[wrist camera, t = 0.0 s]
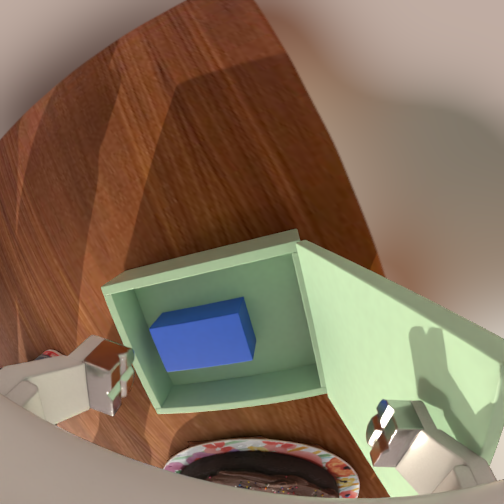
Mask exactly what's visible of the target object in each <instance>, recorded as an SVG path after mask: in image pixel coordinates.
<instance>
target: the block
mask: <svg viewBox="0 0 504 504" xmlns="http://www.w3.org/2000/svg"><path fill="white" fill-rule="evenodd" d="M149 331H150V333H151V336H152V338H153V341H154V343H155V346H156V348H157V350H158V353H159V355H160V357H161V360H162V362H163V364H164V367H165V369H166V371H167V372H172V371H181V370H190V369H198V368H205V367H213V366H220V365H227V364H233V363H239V362H246V361H252V360H253V357H254V351H255V345H256V337H255V334H254V330H253V327H252V324H251V320H250V317H249V313H248V310H247V307H246V303H245V300H244V297H239V298H234V299H229V300H225V301H220V302H215V303H210V304H205V305H200V306H195V307H190V308H184V309H179V310H174V311H169V312H163V313H162V314H161V315H160V316H159V317H158V318H157V320H156V321H155V322H154V323H153V324H152V326H151V327H150V328H149Z"/></svg>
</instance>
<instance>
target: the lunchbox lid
mask: <svg viewBox="0 0 504 504" xmlns="http://www.w3.org/2000/svg"><path fill="white" fill-rule="evenodd" d="M296 248H297V252H298V256H299V260H300V265H301V269H302V273H303V278H304V282H305V287H306V291H307V296H308V300H309V305H310V309H311V314H312V319H313V323H314V328H315V333H316V338H317V342H318V347H319V352H320V357H321V362H322V367H323V372H324V378H325V383H326V388H327V393H328V398H329V399H330V401H331V403H332V404H333V406H334V407H335V409H336V411H337V412H338V414H339V415H340V417H341V419H342V420H343V422H344V424H345V425H346V427H347V428H348V430H349V432H350V433H351V435H352V436H353V438H354V440H355V441H356V443H357V444H358V446H359V448H360V449H361V451H362V452H363V454H364V456H365V457H366V459H367V460H368V462H369V464H370V465H371V467H372V468H373V470H374V472H375V473H376V475H377V476H378V478H379V479H380V481H381V483H382V484H383V486H384V487H385V489H386V491H387V492H388V494H389V495H390V497H403V496H414V495H419V494H418V493H417V492H416V491H415V490H414V489H413V488H412V486H411V485H410V484H409V483H408V482H407V481H406V480H405V479H404V478H403V477H402V475H401V474H400V473H399V472H398V471H397V470H396V469H395V467H373V465H372V461H371V457H370V451H371V450H372V447H371V446H369V445H368V444H367V440H366V430H367V425H368V423H369V421H370V419H371V418H372V417H373V416H375V415H376V414H377V413H378V412H377V409H376V408H377V406H378V404H379V402H380V401H381V400H382V399H389V400H405V401H408V400H421V401H422V402H423V403H424V404H425V406H426V408H427V410H428V412H429V414H430V416H431V418H432V420H433V422H434V424H435V426H436V428H437V429H441V430H442V431H444V432H445V433H447V434H448V435H450V436H451V437H453V438H454V439H455V440H457V441H458V442H460V443H461V444H463V445H464V446H466V447H467V448H469V449H470V450H472V451H473V452H475V453H476V454H477V455H478V456H480V457H482V458H483V459H485V460H486V461H487V463H488V465H489V466H490V464H491V461H492V458H493V456H494V453H495V450H496V448H497V445H498V442H499V439H500V436H501V433H502V430H503V427H504V339H503V338H501V337H499V336H498V335H496V334H494V333H492V332H490V331H488V330H486V329H484V328H483V327H481V326H479V325H477V324H475V323H473V322H471V321H469V320H467V319H466V318H464V317H462V316H460V315H458V314H456V313H454V312H452V311H450V310H448V309H446V308H444V307H442V306H440V305H438V304H436V303H434V302H433V301H431V300H429V299H427V298H425V297H423V296H421V295H419V294H416V293H415V292H413V291H411V290H409V289H407V288H405V287H403V286H401V285H399V284H397V283H395V282H393V281H391V280H389V279H387V278H385V277H383V276H381V275H378V274H376V273H374V272H372V271H370V270H368V269H366V268H364V267H362V266H360V265H358V264H356V263H354V262H352V261H350V260H347V259H345V258H343V257H341V256H339V255H337V254H335V253H333V252H331V251H328V250H326V249H324V248H322V247H320V246H318V245H316V244H314V243H311V242H309V241H307V240H303V241H299V242H296Z"/></svg>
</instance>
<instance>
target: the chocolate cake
mask: <svg viewBox="0 0 504 504" xmlns="http://www.w3.org/2000/svg"><path fill="white" fill-rule="evenodd" d="M188 443H189V446H190V447H188V448H187V449H185V450H182V451H180V452H178V453H176V454H175V455H173V456H171V457H170V460H167V463H166V465H165V466H164V468H163V469H164V470H168V471H171V472H175V473H178V474H182V475H185V476H189V477H193V478H197V479H201V480H205V481H209V482H214V483H218V484H223V485H228V486H233V487H238V488H244V489H250V490H256V491H263V492H270V493H278V494H286V495H296V496H308V497H324V498H357V497H358V495H359V489H360V482H359V478H358V475H357V473H356V471H355V470H354V469H353V468H352V467H351V465H350V464H349V463H347V462H346V461H344V460H343V459H342V458H340V457H338V456H337V455H335V454H333V453H331V452H329V451H327V450H325V449H324V448H322V447H321V446H320V445H318V444H313V445H307V444H304V443H295V442H293V441H281V440H271V439H267V438H265V437H262V436H254V437H245V438H230V439H221V440H212V441H194V442H188Z"/></svg>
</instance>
